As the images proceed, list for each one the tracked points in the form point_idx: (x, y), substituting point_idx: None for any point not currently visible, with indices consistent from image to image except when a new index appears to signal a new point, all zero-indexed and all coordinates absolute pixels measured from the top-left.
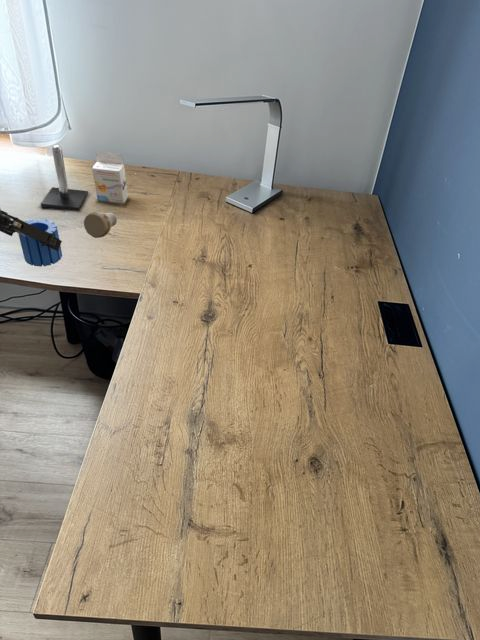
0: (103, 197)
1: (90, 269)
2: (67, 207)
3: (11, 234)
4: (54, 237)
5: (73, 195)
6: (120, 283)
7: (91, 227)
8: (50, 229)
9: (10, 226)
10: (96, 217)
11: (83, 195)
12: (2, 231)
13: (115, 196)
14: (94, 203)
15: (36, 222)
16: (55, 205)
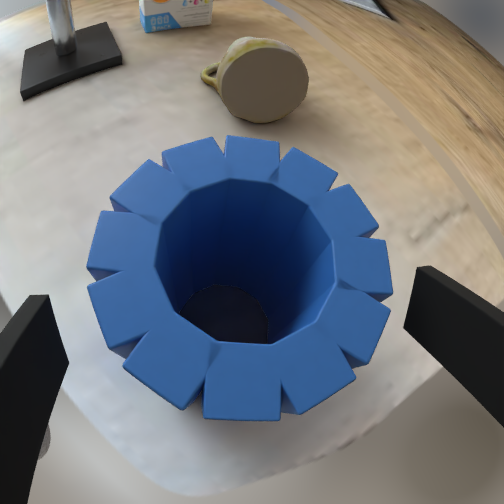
0: (162, 16)
1: (395, 269)
2: (91, 67)
3: (63, 362)
4: (485, 303)
5: (83, 39)
6: (483, 275)
7: (252, 93)
8: (342, 219)
9: (37, 341)
10: (278, 56)
11: (106, 30)
12: (41, 436)
13: (194, 6)
14: (140, 37)
15: (180, 195)
16: (58, 76)
